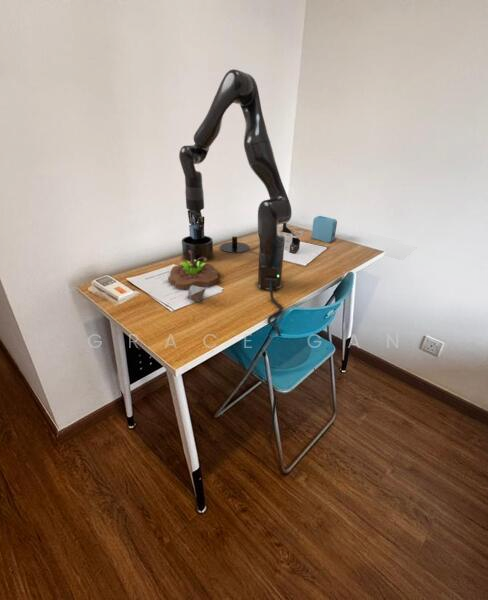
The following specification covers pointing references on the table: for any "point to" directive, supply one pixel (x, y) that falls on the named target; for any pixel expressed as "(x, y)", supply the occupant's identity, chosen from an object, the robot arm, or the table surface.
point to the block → (194, 232)
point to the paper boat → (196, 293)
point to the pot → (197, 248)
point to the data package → (324, 228)
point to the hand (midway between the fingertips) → (197, 236)
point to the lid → (234, 246)
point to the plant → (193, 274)
